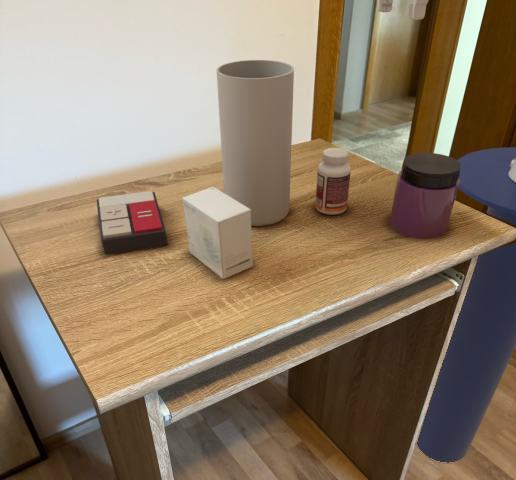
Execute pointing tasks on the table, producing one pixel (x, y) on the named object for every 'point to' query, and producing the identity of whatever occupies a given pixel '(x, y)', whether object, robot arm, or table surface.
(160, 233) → the calculator
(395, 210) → the jar
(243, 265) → the cosmetics box
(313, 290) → the table surface
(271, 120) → the cylinder vase
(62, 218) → the table surface
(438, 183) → the jar lid
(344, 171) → the pill bottle
